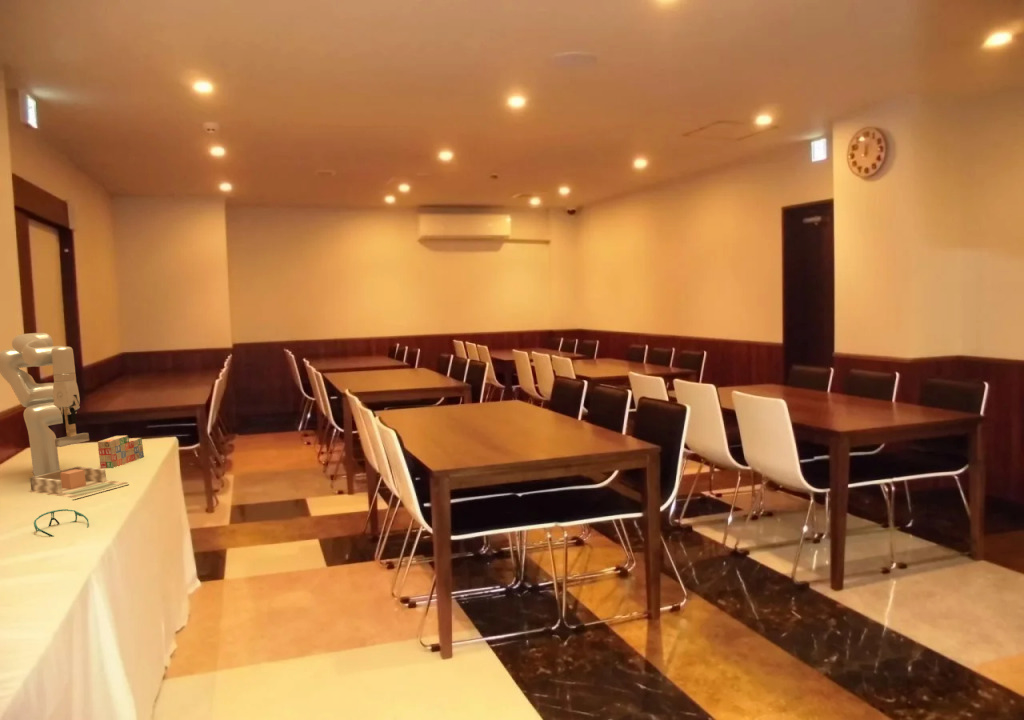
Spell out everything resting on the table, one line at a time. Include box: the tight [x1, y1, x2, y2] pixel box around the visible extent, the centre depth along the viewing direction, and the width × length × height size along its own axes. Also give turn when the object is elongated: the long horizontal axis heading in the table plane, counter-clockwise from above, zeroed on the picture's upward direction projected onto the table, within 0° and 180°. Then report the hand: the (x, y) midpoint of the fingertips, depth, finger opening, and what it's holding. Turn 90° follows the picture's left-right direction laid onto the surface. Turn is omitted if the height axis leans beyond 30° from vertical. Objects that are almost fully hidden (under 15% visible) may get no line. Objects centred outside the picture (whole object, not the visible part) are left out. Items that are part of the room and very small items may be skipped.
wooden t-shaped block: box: [55, 404, 90, 448], centre depth 300 cm, size 3×12×16 cm, turn 154°
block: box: [60, 469, 86, 489], centre depth 295 cm, size 6×6×6 cm
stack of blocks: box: [97, 435, 145, 469], centre depth 341 cm, size 21×6×12 cm, turn 171°
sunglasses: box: [33, 508, 90, 537], centre depth 241 cm, size 14×15×5 cm
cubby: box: [27, 466, 130, 501], centre depth 293 cm, size 30×22×6 cm
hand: (69, 423), depth 300 cm, fingers closed on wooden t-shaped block, 2 cm apart
